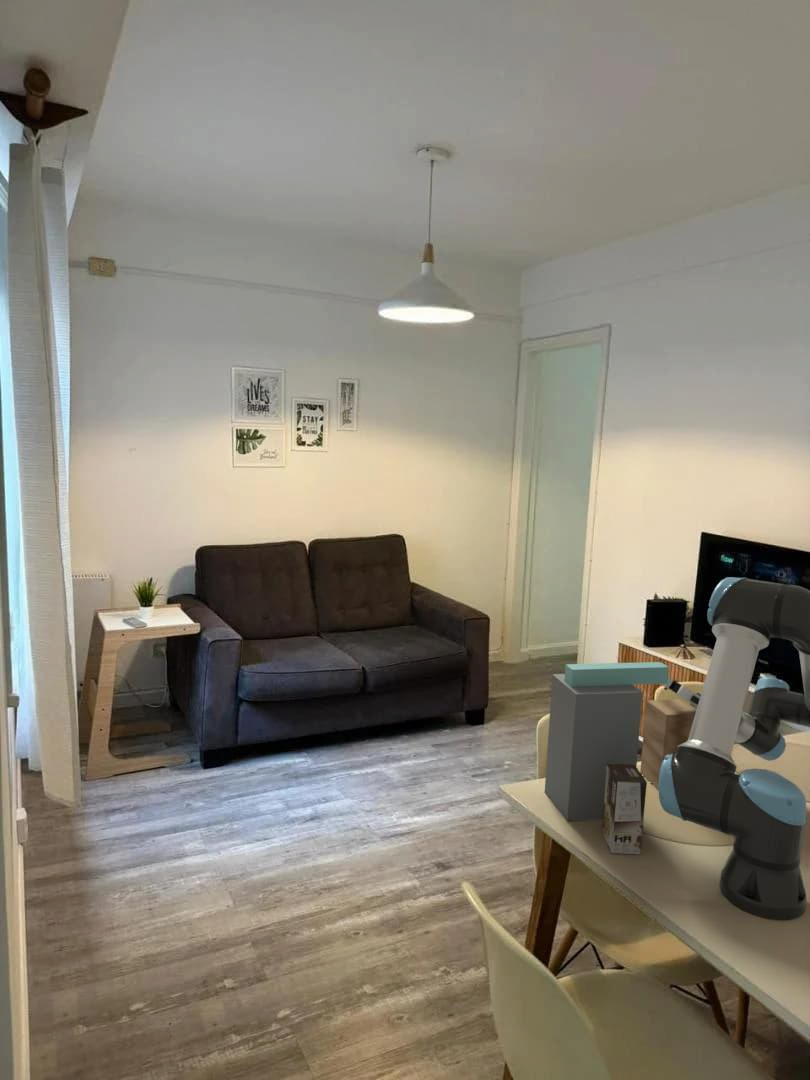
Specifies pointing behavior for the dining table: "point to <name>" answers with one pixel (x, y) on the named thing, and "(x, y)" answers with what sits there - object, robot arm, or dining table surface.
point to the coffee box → (624, 808)
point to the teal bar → (616, 674)
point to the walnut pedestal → (664, 733)
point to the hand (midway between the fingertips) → (664, 680)
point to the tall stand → (588, 743)
